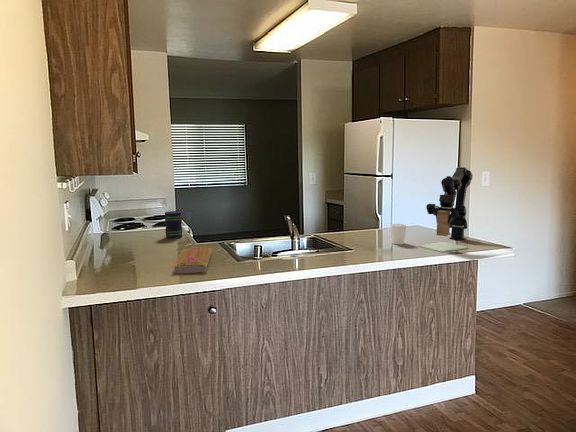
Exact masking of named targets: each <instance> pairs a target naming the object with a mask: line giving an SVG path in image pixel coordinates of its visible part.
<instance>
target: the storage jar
mask: <svg viewBox="0 0 576 432" xmlns="http://www.w3.org/2000/svg"><path fill="white" fill-rule="evenodd" d="M182 219H183V215H182V211H180V210H179V211H177V210H172V211H171V210H170V211H165V212H164V222H165V229H164V230H165V233H164V234H165V239H168V240H170V239H171V240H172V239H173V240H174V239H175V240H176V239H181V238H183V237H184V236H183V225H182V223H183V220H182Z"/></svg>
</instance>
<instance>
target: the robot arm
mask: <svg viewBox="0 0 576 432" xmlns="http://www.w3.org/2000/svg"><path fill="white" fill-rule="evenodd" d="M472 180H473V173H472V171H471V170H469V169H467V167H463V166H459V167H456V168H455V172H454V173H453V175H452V176H451V175H447V176H446V177H444V178H443V179H441V181H440V184H441V187H442V191H443V193H444V194H440V195H439V200H438V201H439V205H436V204H435V203H427V204H426V211H427V214H428V215H433V216H435V220H436V222H437V211H439V210H444V211H450V216H449V219H448V224H449V223H450V229H451V232H450V237H448V239H450V240H456V241H461V240H467V237H464V235H465V230H467V229H468V221H467V218H466V216H467V206H465V203H466V202H465V200H466V194H467V188H468V187H469V186H470V184H471V182H472Z"/></svg>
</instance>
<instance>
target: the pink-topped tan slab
mask: <svg viewBox="0 0 576 432" xmlns="http://www.w3.org/2000/svg"><path fill="white" fill-rule="evenodd" d="M212 251H213V248H212V247H204V246H203V247H202V246H191V247H187V248H183V249H181V251H180V253H179V255H178V256H177V257H176V260H175V262H174V263H173V264H172V268H174V274H175V273H177V274H195V273H196V272H203V273H207V270H208V266H207V265H209V262H210V258H211V256H212V255H211V254H212ZM194 272H195V273H194Z"/></svg>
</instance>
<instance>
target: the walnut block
mask: <svg viewBox="0 0 576 432" xmlns="http://www.w3.org/2000/svg"><path fill="white" fill-rule="evenodd" d="M450 214H451V212H450V211H444V210H439V211H437V221H436V236H442V237H448V236H449V235H450V229H451V228H450V223H449V224H448V219H449V216H450Z"/></svg>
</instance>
